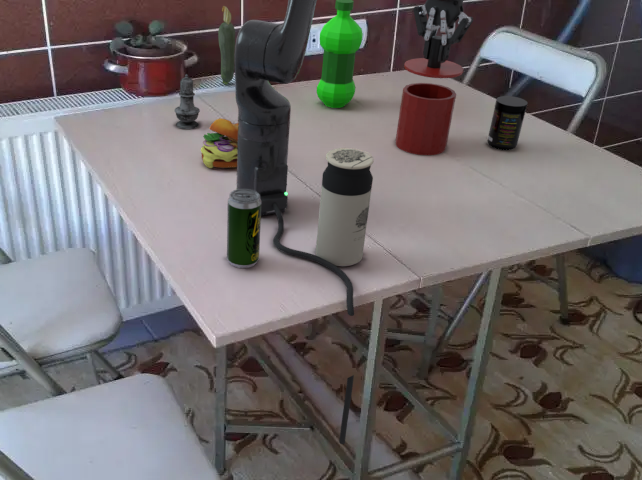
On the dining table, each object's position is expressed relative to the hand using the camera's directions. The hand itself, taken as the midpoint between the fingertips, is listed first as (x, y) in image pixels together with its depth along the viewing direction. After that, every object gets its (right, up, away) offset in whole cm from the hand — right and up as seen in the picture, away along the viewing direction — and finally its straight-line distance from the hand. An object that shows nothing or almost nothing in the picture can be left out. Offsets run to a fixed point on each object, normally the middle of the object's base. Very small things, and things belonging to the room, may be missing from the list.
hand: (435, 60), depth 158 cm
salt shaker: (-54, -10, +16) cm, 57 cm away
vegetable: (-46, +6, +41) cm, 62 cm away
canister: (-1, -16, +11) cm, 19 cm away
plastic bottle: (-18, -1, +31) cm, 36 cm away
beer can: (-40, -45, -34) cm, 69 cm away
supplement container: (+18, -16, +13) cm, 27 cm away
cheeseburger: (-44, -22, 0) cm, 49 cm away
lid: (0, -2, +1) cm, 2 cm away
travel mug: (-24, -44, -31) cm, 58 cm away
